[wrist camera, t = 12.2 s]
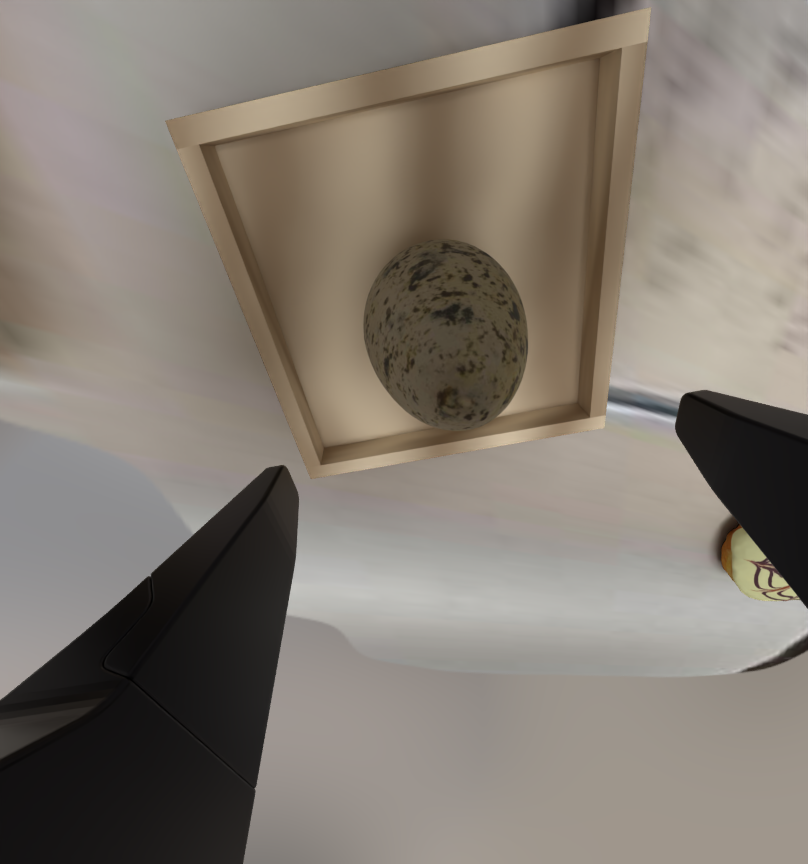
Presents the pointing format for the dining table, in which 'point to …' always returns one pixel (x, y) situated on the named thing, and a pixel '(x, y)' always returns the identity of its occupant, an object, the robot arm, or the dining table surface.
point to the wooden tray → (429, 224)
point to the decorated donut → (753, 569)
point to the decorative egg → (447, 334)
